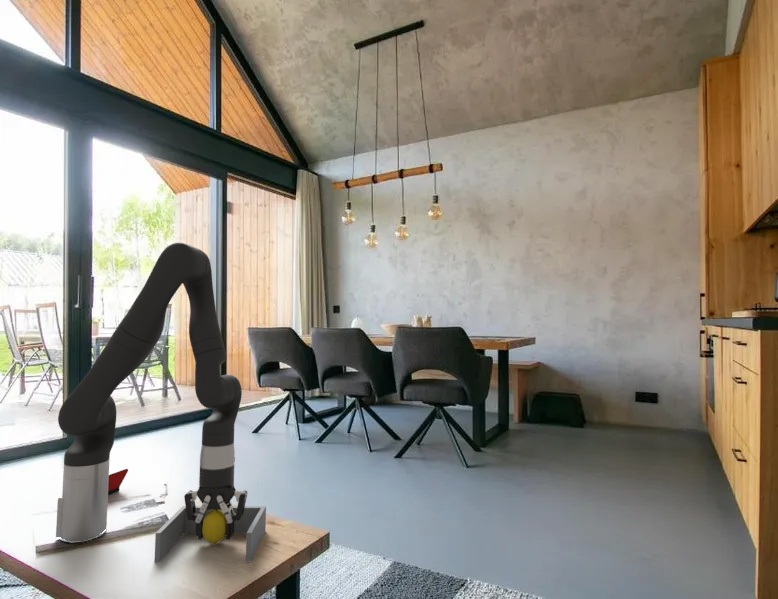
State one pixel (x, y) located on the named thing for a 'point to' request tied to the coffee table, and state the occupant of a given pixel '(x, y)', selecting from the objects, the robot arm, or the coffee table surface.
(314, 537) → the coffee table surface
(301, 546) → the coffee table surface
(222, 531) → the lemon
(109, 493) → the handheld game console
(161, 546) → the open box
